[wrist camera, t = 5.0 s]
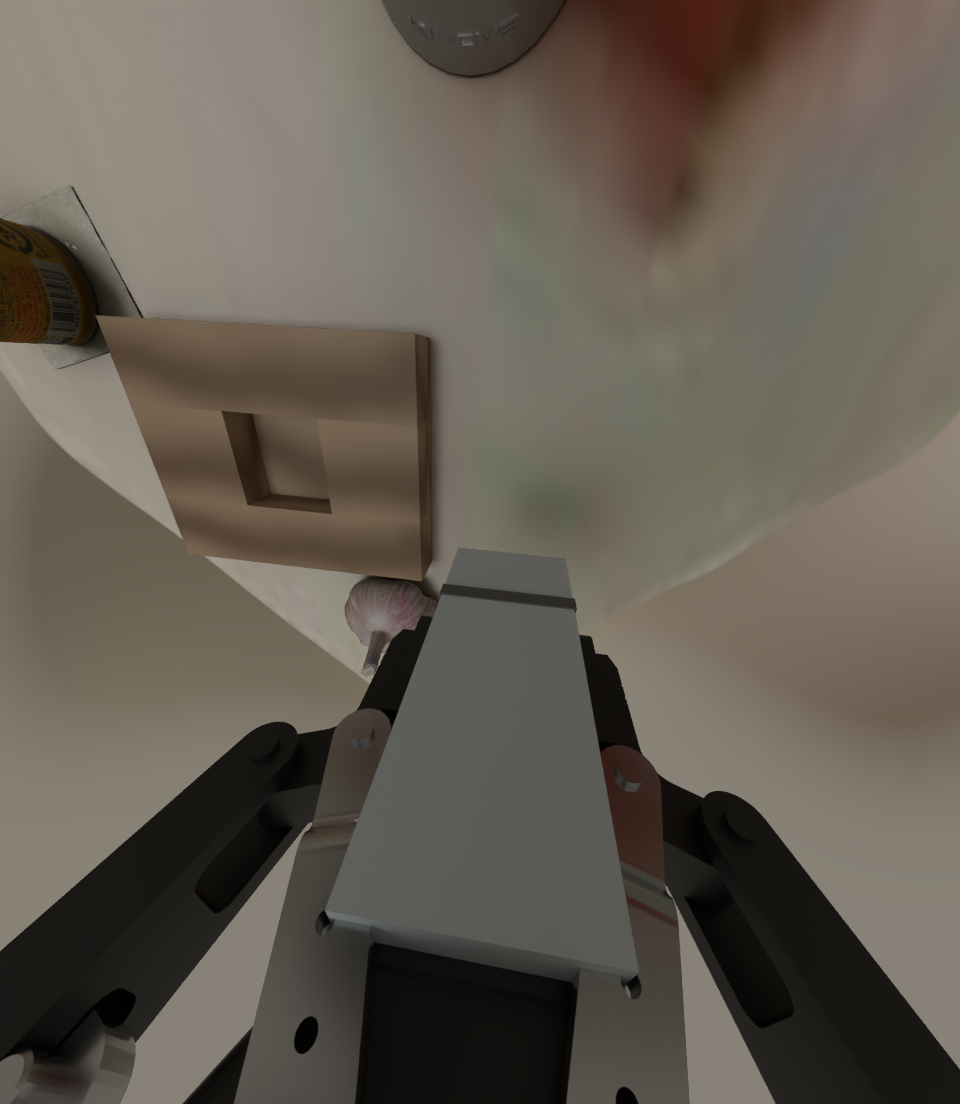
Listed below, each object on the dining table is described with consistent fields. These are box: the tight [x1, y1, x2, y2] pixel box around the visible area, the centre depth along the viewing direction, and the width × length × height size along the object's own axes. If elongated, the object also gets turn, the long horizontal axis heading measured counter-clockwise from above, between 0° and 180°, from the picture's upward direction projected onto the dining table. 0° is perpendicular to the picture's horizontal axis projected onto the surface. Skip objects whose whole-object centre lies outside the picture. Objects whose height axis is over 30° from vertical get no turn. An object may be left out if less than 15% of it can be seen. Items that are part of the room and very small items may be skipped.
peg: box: [325, 548, 639, 988], centre depth 10 cm, size 4×4×10 cm
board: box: [96, 315, 432, 581], centre depth 23 cm, size 15×18×3 cm
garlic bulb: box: [345, 579, 438, 677], centre depth 26 cm, size 8×7×8 cm
